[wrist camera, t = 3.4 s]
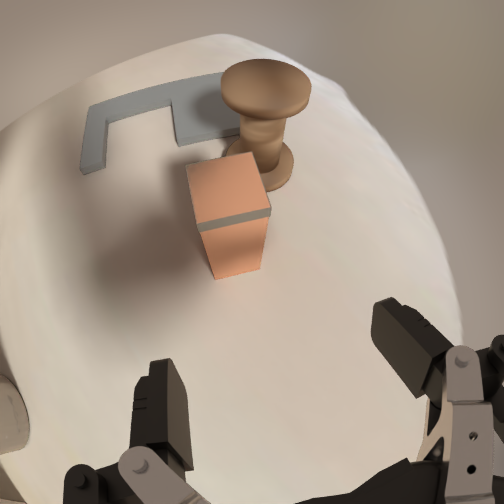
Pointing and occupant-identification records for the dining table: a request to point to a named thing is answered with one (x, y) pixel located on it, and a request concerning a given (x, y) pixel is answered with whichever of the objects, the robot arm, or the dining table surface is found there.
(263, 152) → the bobbin
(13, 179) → the dining table surface
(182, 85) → the notched board
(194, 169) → the orange tall block
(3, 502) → the gable box
